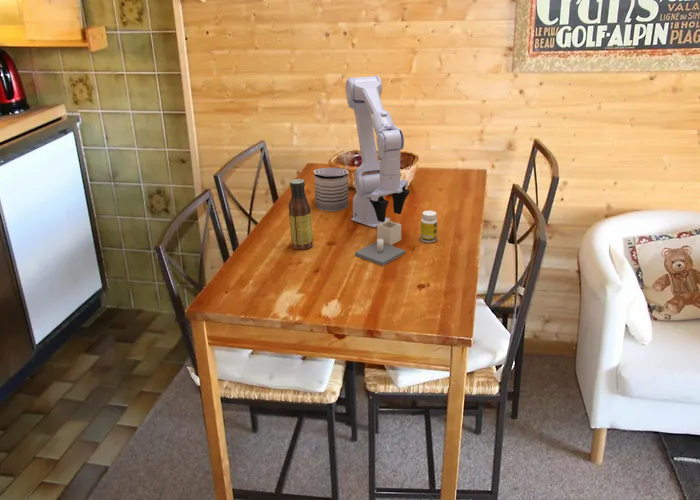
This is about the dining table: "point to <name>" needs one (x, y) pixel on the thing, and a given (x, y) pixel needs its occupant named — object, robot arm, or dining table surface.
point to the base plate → (380, 252)
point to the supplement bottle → (429, 226)
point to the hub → (389, 232)
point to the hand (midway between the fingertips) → (389, 217)
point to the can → (331, 189)
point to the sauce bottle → (300, 216)
